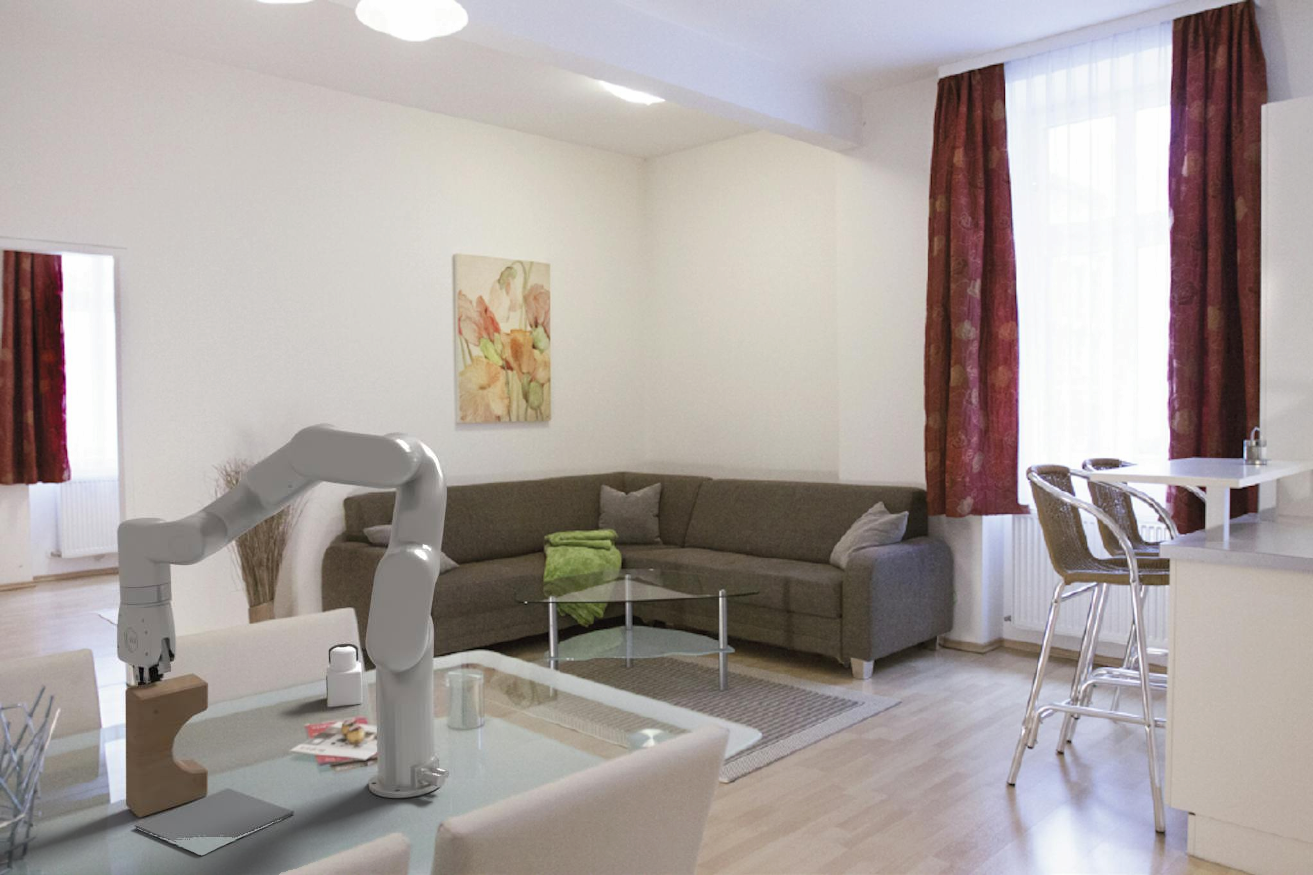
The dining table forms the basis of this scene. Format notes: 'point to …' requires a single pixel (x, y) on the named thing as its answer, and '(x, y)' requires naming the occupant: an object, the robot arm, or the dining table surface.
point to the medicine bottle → (343, 676)
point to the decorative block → (162, 744)
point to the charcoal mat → (215, 817)
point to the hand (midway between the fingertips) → (150, 703)
